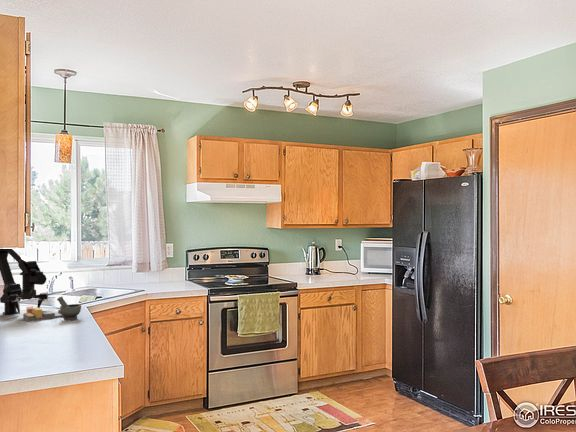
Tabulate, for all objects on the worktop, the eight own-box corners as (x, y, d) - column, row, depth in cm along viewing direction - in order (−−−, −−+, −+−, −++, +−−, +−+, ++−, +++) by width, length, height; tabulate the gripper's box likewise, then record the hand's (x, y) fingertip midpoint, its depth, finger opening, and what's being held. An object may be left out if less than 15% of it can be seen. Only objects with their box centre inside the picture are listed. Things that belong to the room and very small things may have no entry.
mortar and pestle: (79, 316, 265) (79, 293, 265) (82, 320, 257) (82, 296, 257) (56, 319, 259) (56, 295, 259) (58, 322, 251) (58, 298, 251)
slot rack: (23, 318, 262) (23, 313, 262) (64, 313, 275) (64, 308, 275) (28, 321, 254) (28, 315, 254) (69, 316, 267) (69, 311, 267)
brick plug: (26, 314, 273) (26, 307, 273) (32, 313, 275) (32, 306, 275) (27, 317, 266) (27, 309, 266) (33, 316, 267) (33, 309, 267)
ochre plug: (42, 317, 259) (42, 309, 259) (35, 318, 257) (35, 310, 257) (37, 314, 266) (37, 307, 266) (31, 315, 264) (31, 307, 264)
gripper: (5, 286, 259) (5, 317, 259) (46, 284, 265) (46, 314, 265) (9, 283, 270) (9, 313, 270) (48, 282, 276) (48, 311, 276)
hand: (28, 313), depth 270 cm, fingers open, 8 cm apart
